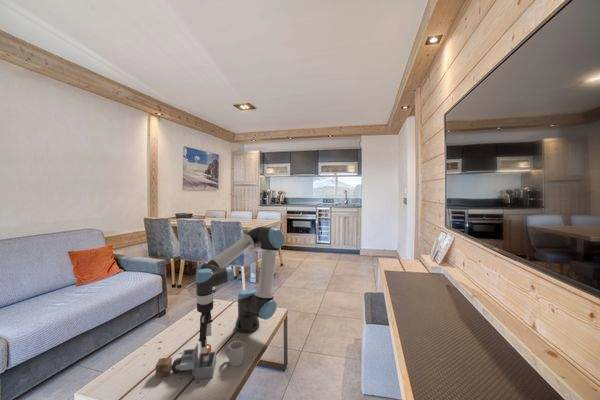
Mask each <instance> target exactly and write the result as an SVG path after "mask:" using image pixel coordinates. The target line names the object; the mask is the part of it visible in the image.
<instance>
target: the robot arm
mask: <svg viewBox="0 0 600 400" xmlns="http://www.w3.org/2000/svg"><path fill="white" fill-rule="evenodd" d="M284 243H285V235H284V233H283V230H281V229H279V228H276V227H269V226H257V227H254V228H252V229H250V230H249V231H247V232H245V234H243V235H242V237H241V238H240V239H239V240H237V241H236V242H234V243H233V244H232V245H230V246H229V247H227V248H226V249H225V250H223V251H222V252H220V253H219V254H218V255H217V256H215V257H214V258H212V259H211V260H209V261H208V262H201V263H199V264H198V266H197V267H196V273H195V292H196V295H195V299H196V311H197V312H198V313H200V318H199V338H198V342H200V344H199V345H200V353H207V344H208V339H207V337H212V323H213V318H212V312H211V311H213V309H214V288H215V287H218V286H221V285H223V284H225V283H229V282H230V281H232V280H233V279H234V277H235V272H234V270H233V268H232V267H231V266H228V265H229V264H230V263H231V262H233V261H234V260H235V259H237V258H238V257H239V256H241V255H242V254H244V252H246V251H247V250H248V249H249V248H251V249H252V248H254V247H255V246H258V245H260V248H259V249H260V250H261V251H262V253H261V261H260V267H259V268H260V270H259V277H258V285H257V289H255V288H249V289H244V290H241V291H240V292H238V295H237V296H238V297H237V318H236V321H235V327H234V328H235V330H236V331H237V332H239V333H242V334H246V333H247V334H248V333H253V332H255V331H257V330H258V329H259V328H260V320H259V319H262V320H269V319H271V318H272V317H273V316H274V314H275V312H276V310H277V302H276V300H274V296H275V295H274V294H273V284H274V283H273V282H274V277H275V275H274V274H275V268H276V260H277V259H276V258H277V253H278V252H279V251H280V248H282V247H283V245H284Z"/></svg>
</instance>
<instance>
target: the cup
mask: <svg viewBox="0 0 600 400" xmlns="http://www.w3.org/2000/svg"><path fill="white" fill-rule="evenodd" d="M244 346H245V345H244V341H241V340H235V341H232V342H231V343H229V345H226V347H225V352H224V353H225V356H226V358H227V359H229V360H228V363H229V365H230V366H231V367H239V366H241V365H243V363H244V360H245V359H244V357H245V356H244V355H245V353H244V352H245V347H244Z"/></svg>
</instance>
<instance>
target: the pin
mask: <svg viewBox="0 0 600 400" xmlns="http://www.w3.org/2000/svg"><path fill="white" fill-rule="evenodd" d="M211 352H212V345H211V344H210V343H207V353H201V352H200V353H201V356H203V367H209V354H211Z"/></svg>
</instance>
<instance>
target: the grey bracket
mask: <svg viewBox="0 0 600 400" xmlns="http://www.w3.org/2000/svg"><path fill="white" fill-rule="evenodd" d="M198 357H199V343H198V342H196V344H195V347H194V348H189V349H183V352H182V354H181V357H178V358H176V359H174V361H173V362H172V367H171V368H172V370H171V372H173V373H175V374H181V373H182V372H184V371H187V370H188V371H189V370H192V371H191V372H192V376H193V377H195V366H196V363H197V360H198Z"/></svg>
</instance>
